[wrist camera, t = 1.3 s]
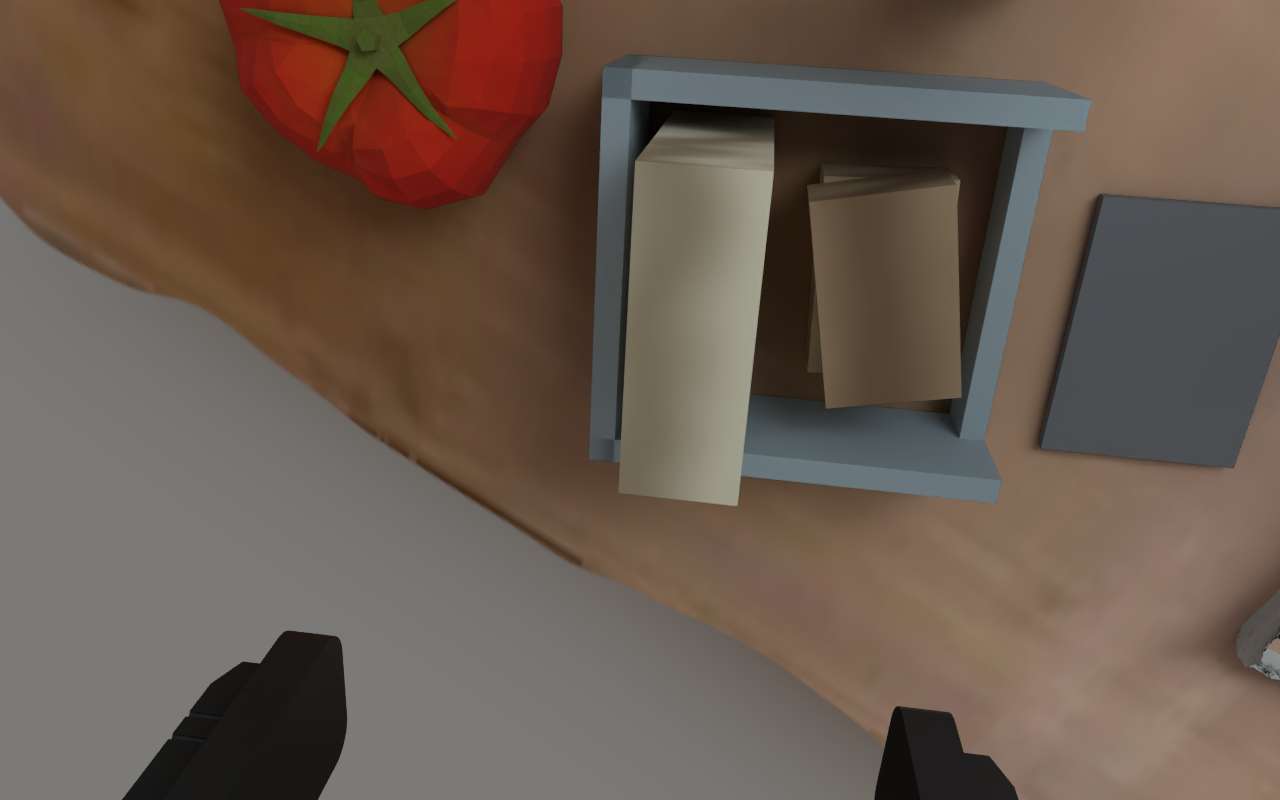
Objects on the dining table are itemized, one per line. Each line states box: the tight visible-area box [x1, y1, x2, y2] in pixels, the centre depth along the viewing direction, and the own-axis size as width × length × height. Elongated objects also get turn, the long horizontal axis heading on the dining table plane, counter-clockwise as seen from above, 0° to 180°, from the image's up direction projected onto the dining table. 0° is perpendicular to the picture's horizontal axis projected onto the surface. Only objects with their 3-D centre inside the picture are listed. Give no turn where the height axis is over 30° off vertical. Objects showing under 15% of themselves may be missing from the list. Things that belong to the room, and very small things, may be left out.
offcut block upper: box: [807, 168, 961, 409], centre depth 36 cm, size 5×8×3 cm, turn 9°
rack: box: [589, 55, 1092, 503], centre depth 38 cm, size 16×15×6 cm
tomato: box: [219, 0, 563, 209], centre depth 35 cm, size 13×12×8 cm
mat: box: [1038, 194, 1280, 468], centre depth 39 cm, size 8×11×1 cm
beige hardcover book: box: [618, 110, 774, 506], centre depth 35 cm, size 4×11×12 cm, turn 177°
